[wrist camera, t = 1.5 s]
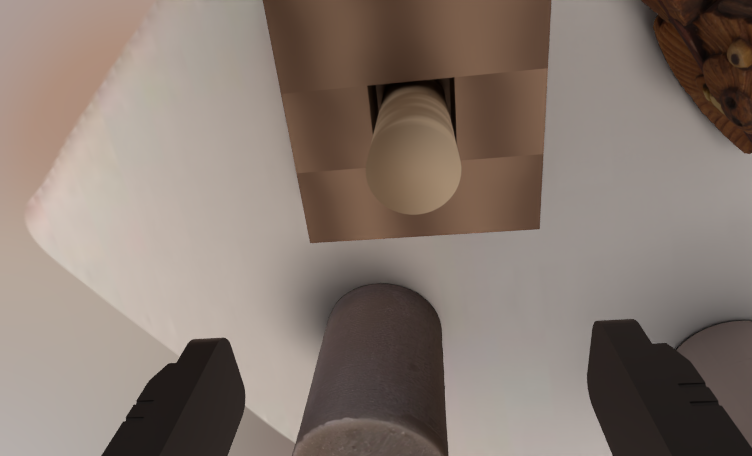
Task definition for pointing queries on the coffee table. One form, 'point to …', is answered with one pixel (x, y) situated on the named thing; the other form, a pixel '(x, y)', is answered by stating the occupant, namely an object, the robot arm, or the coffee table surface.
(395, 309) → the pillar candle
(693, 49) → the wooden carving
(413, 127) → the peg
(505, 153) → the socket block
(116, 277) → the coffee table surface
